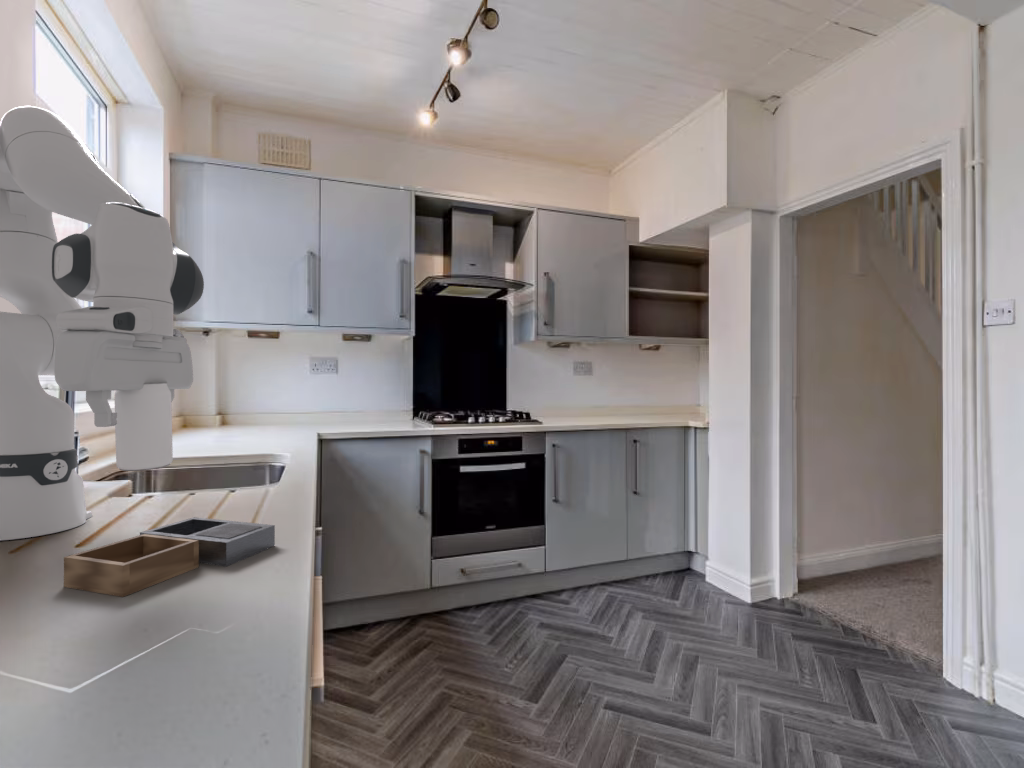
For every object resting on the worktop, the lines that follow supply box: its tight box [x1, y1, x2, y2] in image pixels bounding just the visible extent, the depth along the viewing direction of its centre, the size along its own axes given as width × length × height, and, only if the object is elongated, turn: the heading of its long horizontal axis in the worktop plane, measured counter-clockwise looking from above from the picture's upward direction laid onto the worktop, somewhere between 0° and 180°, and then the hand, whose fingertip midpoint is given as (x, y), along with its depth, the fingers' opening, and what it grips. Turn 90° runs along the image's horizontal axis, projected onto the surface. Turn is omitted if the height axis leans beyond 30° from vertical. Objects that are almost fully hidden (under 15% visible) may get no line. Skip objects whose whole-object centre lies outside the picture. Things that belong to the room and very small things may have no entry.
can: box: [114, 382, 174, 472], centre depth 71 cm, size 6×6×12 cm
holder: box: [63, 534, 200, 598], centre depth 69 cm, size 11×11×4 cm
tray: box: [139, 516, 276, 568], centre depth 80 cm, size 17×9×4 cm, turn 73°
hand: (134, 423), depth 69 cm, fingers open, 8 cm apart
